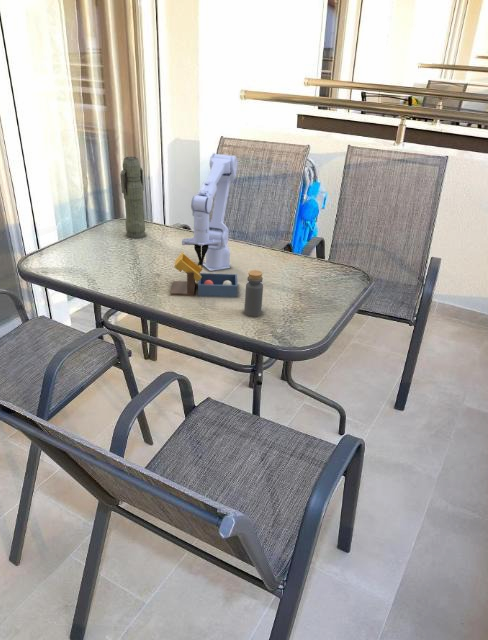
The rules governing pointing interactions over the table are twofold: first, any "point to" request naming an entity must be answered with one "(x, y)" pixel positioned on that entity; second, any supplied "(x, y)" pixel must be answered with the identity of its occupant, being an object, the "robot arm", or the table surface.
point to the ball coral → (208, 282)
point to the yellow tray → (188, 266)
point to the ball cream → (227, 282)
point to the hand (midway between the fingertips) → (201, 263)
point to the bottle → (254, 294)
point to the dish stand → (184, 286)
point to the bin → (217, 285)
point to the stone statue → (133, 197)
